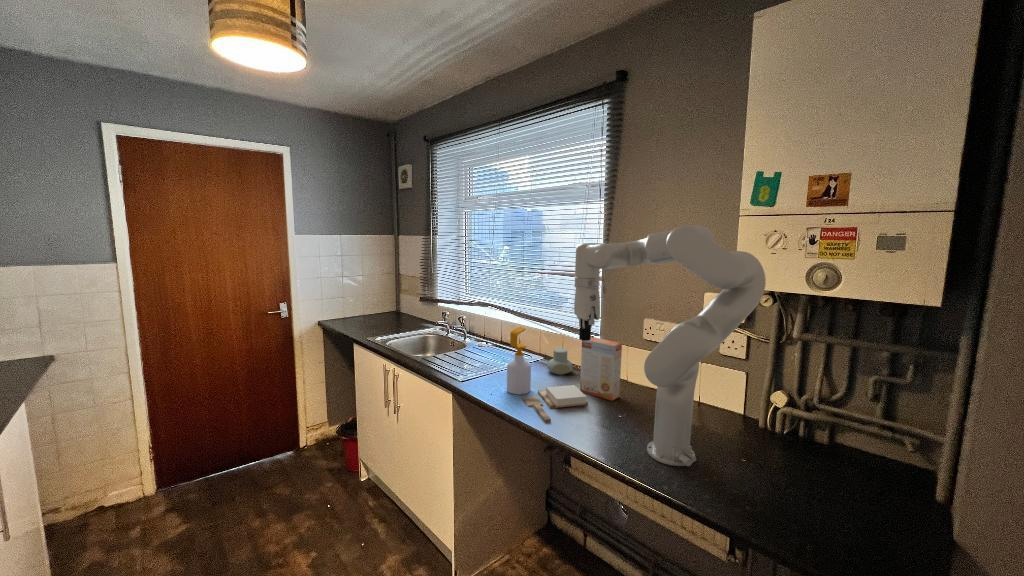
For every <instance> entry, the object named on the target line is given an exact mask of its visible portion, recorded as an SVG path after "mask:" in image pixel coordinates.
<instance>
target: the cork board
mask: <svg viewBox="0 0 1024 576" xmlns="http://www.w3.org/2000/svg"><path fill="white" fill-rule="evenodd" d="M537 394H538V395H539V397H540V398H541V399H542V400H543V401H544V402H545V404H546V405H547V406H548V407H549V409H558V408H561V407H556V406H555V405H554V404H553V403H552V402H551V400H550V399H549V398H548V397H547V396H546V389H541V390H537ZM588 404H589V402H588V401H587V400H586V405H587V406H589V405H588ZM586 405H585V406H586ZM577 406H579V407H580V406H581V405H577ZM577 406H576V407H577ZM568 407H571V406H566V407H565V408H568Z"/></svg>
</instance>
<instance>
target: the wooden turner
mask: <svg viewBox="0 0 1024 576" xmlns="http://www.w3.org/2000/svg"><path fill="white" fill-rule="evenodd" d="M522 400H523V402H524V404H525V405H526V407H527V408H529V407H530V408H531V407H532V408H533V409H534V410H535V411H536V413H537V415H538V416H539V417H540V419H541V420H542V421H543V422H544V424H549V423H551V422H552V419H551V417H550V416H549V415H548V413H546V411H545V410H544V408H543V407H542V406H544V403H543V402H542V401H541V400H540V398H539V397H538V396H527V397H526V396H525V397H522Z"/></svg>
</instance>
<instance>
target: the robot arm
mask: <svg viewBox="0 0 1024 576" xmlns="http://www.w3.org/2000/svg"><path fill="white" fill-rule="evenodd" d="M574 261H575V263H574V264H575V266H574V267H575V268H574V269H575V271H574V288H575V293H574V302H573V306H574V307H573V309H574V310H573V311H574V312H573V313H574V315H575V316H576V319H578V326H579V329H578V330H579V331H578V332H579V337H578V339H579V340H581V342H582V341H586V340H590V339H591V337H592V336H591V335H592V332H591V331H592V327H593V326H595V323H596V322H595V320H596V321H599V320H600V319H601V299H600V290H599V289H600V269H601V270H610V269H611V270H612V269H618V268H627V267H628V268H629V267H635V266H642V265H643V266H644V265H649V264H650V265H653V266H654V265H662V264H667V263H668V264H669V263H675V262H678V263H679V264H681V265H682V266H683V267H685V268H686V269H687V270H688V271H690V272H692V273H693V274H694V275H695V276H697V277H698V278H700V279H701V280H703V281H704V282H705V283H707V284H708V285H710V286H713V287H714V288H716V289H721V291H720V292H719V293H718V294H717V295H715V296H714V297H713V298H712V299H711V301H710V302H709V303H708V304H707V305H706V306H705V307H704V308H703V309H702V310H701V311H700V312H699V313H698V314H697V315H695V316H693V317H692V318H690V319H687V320H684V321H681V322H680V323H678V324H677V325H675V326H674V327H673V328H672V329H671V330H670V331H669V332H668V333H667V334H666V335H665V336H664V337H663V338H662V339H661V340H660V342H658V344H657V345H656V346H655V347H654V348H653V349H652V350H651V351H650V352H649V354H648V356H647V357H646V358H645V361H644V364H643V365H644V366H643V370H644V374H645V378H647V380H648V382H650V384H652V385H653V386H656V395H655V396H656V397H655V408H654V425H653V436H652V437H653V440H652V441H649V442H648V443H647V446H646V451H647V454H648V455H649V456H650V457H651V458H652V459H654V460H655V461H657V462H659V463H661V464H665V465H669V466H673V467H674V466H675V467H685V466H686V467H690V466H692V464H693V463H694V462H696V461H697V457H696V454H695V451H694V450H693V449H692V448H693V446H692V445H691V434H692V423H693V411H694V410H693V409H694V401H695V399H694V398H695V389H696V385H697V384H696V383H697V380H698V376H699V371H700V361H701V360H702V359H703V358H704V357H706V356H708V355H709V354H712V353H713V352H715V351H716V350H717V349H718V348H719V347H720V346H721V345H722V343H724V341H725V340H726V339H727V338H728V337H730V335H731V334H732V333H733V332H734V331H735V330H736V329H737V328H738V327H739V326H740V325H741V324H742V323H743V322H744V321H745V320H746V318H747V317H748V316H750V314H752V312H753V311H754V310H755V309H756V307H757V306H758V305H759V303H760V302H761V300H762V298H763V295H764V293H765V289H766V281H767V280H766V274H765V270H764V267H763V266H762V264H761V262H760V260H759V258H757V257H756V256H755V255H753V254H752V253H749V252H747V251H741V250H735V251H728V250H726V249H725V248H723V247H721V246H720V245H718V244H717V243H716V239H715V234H714V233H713V232H712V230H710V228H708V227H706V226H703V225H697V224H696V225H695V224H693V225H692V224H691V225H689V224H688V225H687V224H686V225H684V224H683V225H680V226H677V227H675V228H674V229H671V230H666V231H660V232H652V233H650V234H649V233H648V234H647V236H646V237H645V238H642V239H637V240H632V241H626V242H618V243H617V242H613V243H592V242H591V243H589V242H588V243H587V242H585V243H584V242H583V243H582V242H581V243H578V244H577V245H576V247H575V260H574Z"/></svg>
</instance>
